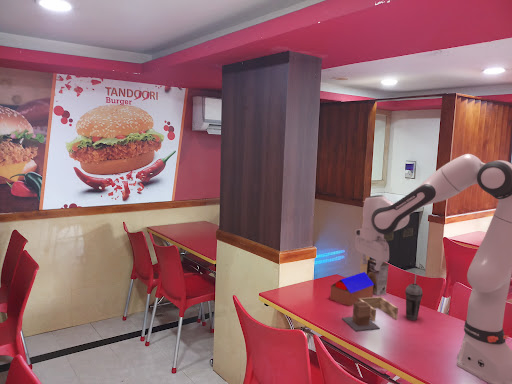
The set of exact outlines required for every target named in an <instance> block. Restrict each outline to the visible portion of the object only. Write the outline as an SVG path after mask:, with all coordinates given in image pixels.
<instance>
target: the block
mask: <svg viewBox="0 0 512 384" xmlns="http://www.w3.org/2000/svg"><path fill="white" fill-rule="evenodd" d="M352 306H353V308H352V311H353V312H352V317H353V319H352V321H353V322H355V323H356V324H357V325H358V326H362V325H369V320H371V319H370V307H371V306H369V305H368V304H366V303H365V302H356V303H354V305H352Z"/></svg>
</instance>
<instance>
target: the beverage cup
mask: <svg viewBox="0 0 512 384" xmlns="http://www.w3.org/2000/svg"><path fill="white" fill-rule="evenodd" d="M414 275H415V276H414V283H411V284H408V286H406V288H405V291H404V293H405V318H406V319H408V320H410V321H417V320H418V316H419V312H420V306H421V301H422V298H423V289H422V287H421V286H420V285H419V284H417V283H416V282H417V273H415V274H414Z"/></svg>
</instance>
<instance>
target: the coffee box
mask: <svg viewBox="0 0 512 384" xmlns="http://www.w3.org/2000/svg"><path fill="white" fill-rule="evenodd" d="M367 260H368V261H367V264H366V266H367V267H366V274H367V276H368V277H369V278H370V280H371V281H372V282H373V284H374V285H373V295H375V296H384V295H386V294H387V284H388V276H389V275H388V274H389V273H388V272H389V266H390V265H389V264H390V263H388V262H382V265H381V266H380V271H376V270H374V266H376V264H377V263H376V260H375V259H373V258H371V259H367Z"/></svg>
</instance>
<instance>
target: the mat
mask: <svg viewBox="0 0 512 384" xmlns="http://www.w3.org/2000/svg"><path fill="white" fill-rule="evenodd" d="M352 319H353V316H348V317H345V316H344V317H342V318H341V320H342V321H344V322H345V323H346V324H347V325H348V327H350V328H351V329H352V330H353V331H355V332H365V331H376V330H380V329H381V327H380V326H378V325H377V324H376V323H375V322H374V321H372V320H371V319H370V320H369V325H362V326H358V325H357V324H356V323H355V322H353V321H352Z"/></svg>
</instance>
